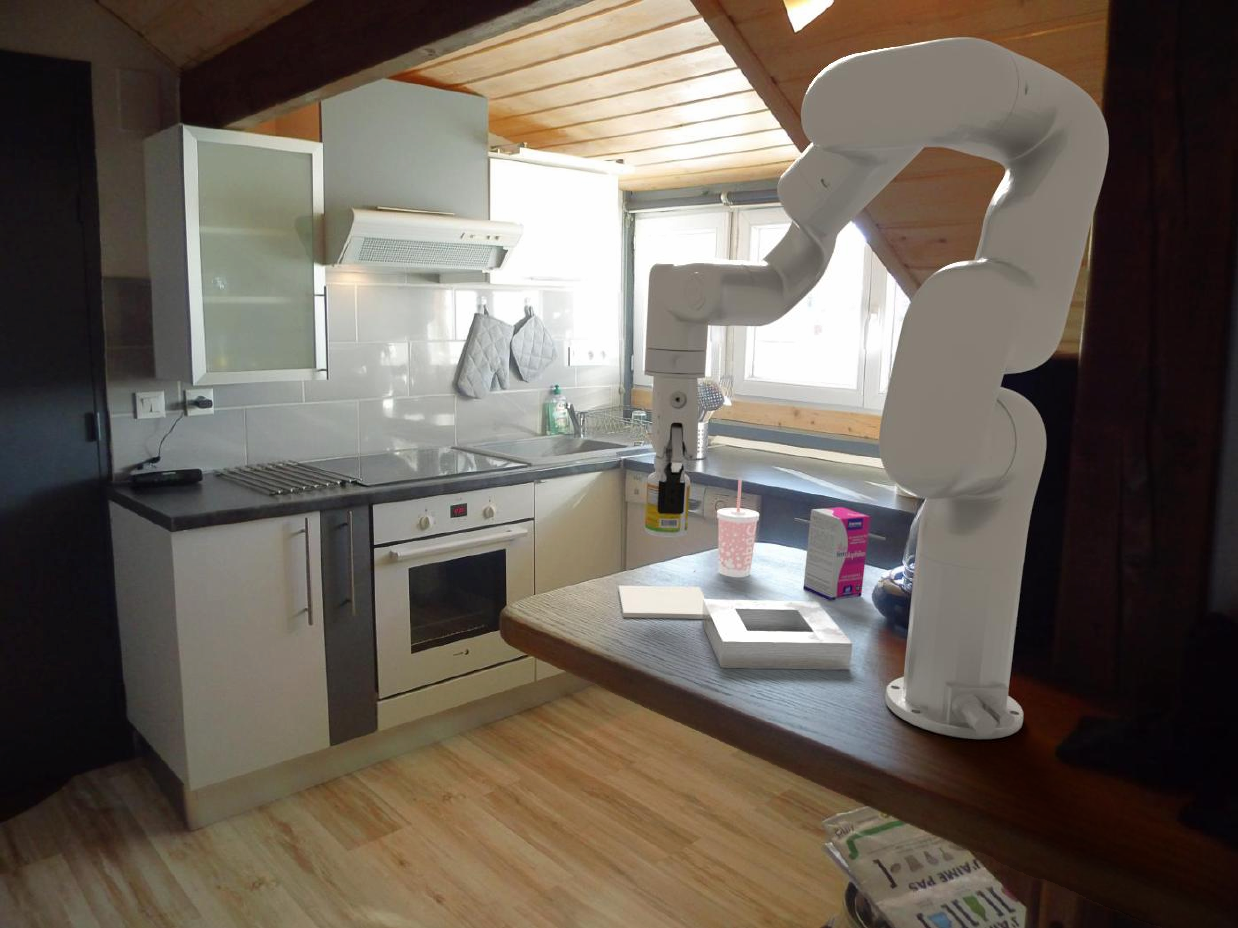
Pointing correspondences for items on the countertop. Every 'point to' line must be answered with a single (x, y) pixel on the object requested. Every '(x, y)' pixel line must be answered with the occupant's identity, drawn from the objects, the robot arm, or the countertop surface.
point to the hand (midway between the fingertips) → (667, 506)
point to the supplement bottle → (664, 522)
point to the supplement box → (836, 553)
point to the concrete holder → (775, 635)
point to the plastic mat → (661, 602)
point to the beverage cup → (736, 538)
